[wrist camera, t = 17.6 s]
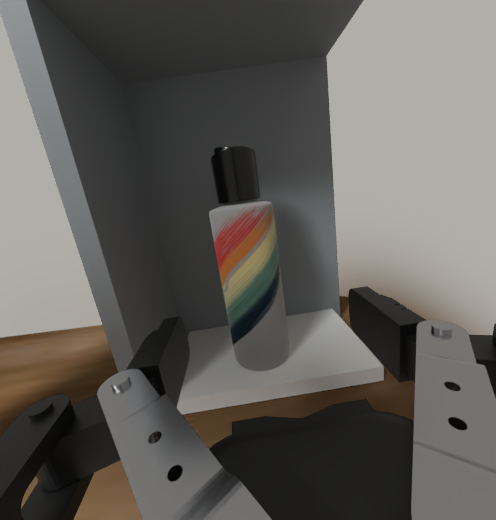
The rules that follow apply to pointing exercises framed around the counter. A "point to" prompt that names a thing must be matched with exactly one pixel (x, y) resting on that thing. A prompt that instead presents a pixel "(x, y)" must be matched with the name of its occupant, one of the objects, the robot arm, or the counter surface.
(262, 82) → the open shelf
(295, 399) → the counter surface
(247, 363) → the lotion bottle
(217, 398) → the shelf mat
